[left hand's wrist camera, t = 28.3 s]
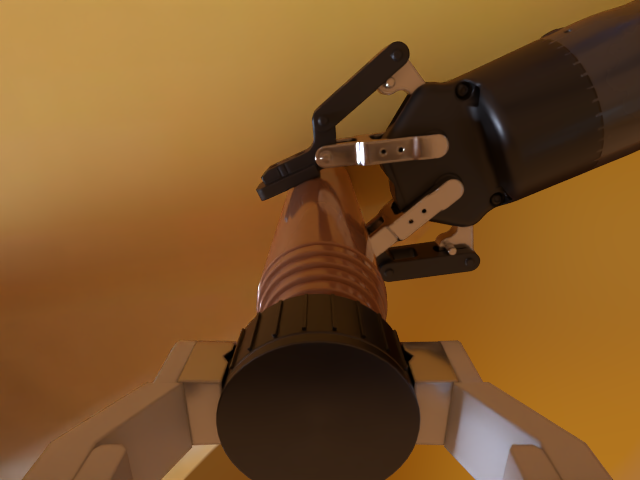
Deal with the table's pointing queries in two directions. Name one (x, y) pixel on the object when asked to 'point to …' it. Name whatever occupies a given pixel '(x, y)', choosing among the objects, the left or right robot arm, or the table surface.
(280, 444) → the cap
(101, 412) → the left robot arm
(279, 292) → the bottle
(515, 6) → the table surface
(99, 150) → the table surface
